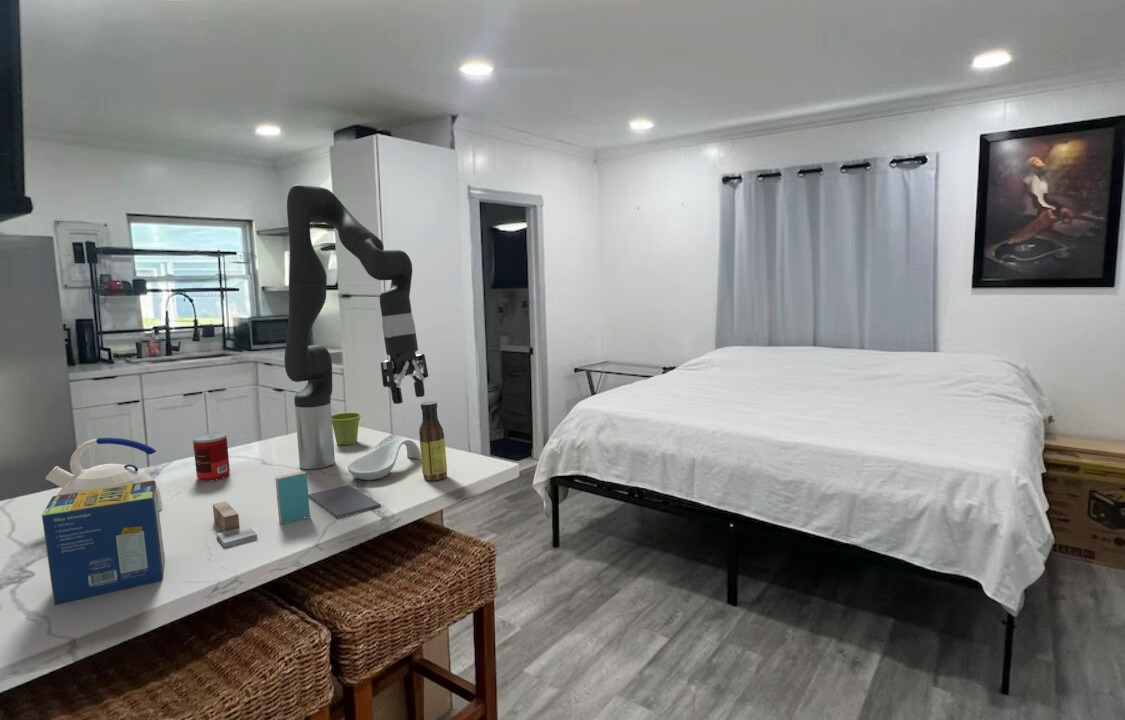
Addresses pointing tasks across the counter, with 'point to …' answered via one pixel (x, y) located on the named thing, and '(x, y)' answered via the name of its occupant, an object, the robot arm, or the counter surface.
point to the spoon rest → (382, 460)
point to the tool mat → (343, 500)
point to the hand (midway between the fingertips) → (409, 400)
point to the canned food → (211, 456)
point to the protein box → (103, 541)
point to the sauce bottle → (432, 444)
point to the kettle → (100, 471)
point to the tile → (292, 497)
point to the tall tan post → (230, 526)
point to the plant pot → (346, 427)
